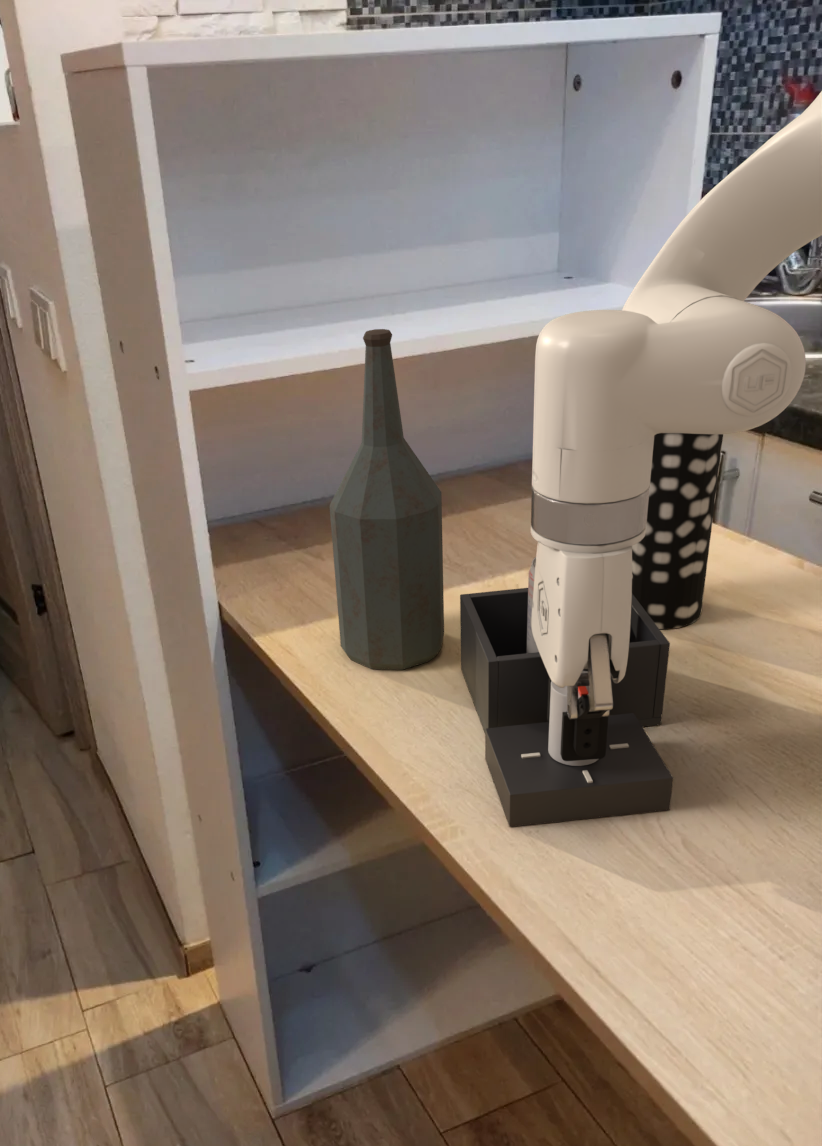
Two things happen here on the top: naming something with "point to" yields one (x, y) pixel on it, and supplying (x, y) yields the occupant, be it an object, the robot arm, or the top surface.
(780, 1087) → the top surface
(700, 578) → the white-spotted black cylinder
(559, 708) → the tap knob
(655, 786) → the panel
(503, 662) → the black open box
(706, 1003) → the top surface
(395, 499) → the bottle
